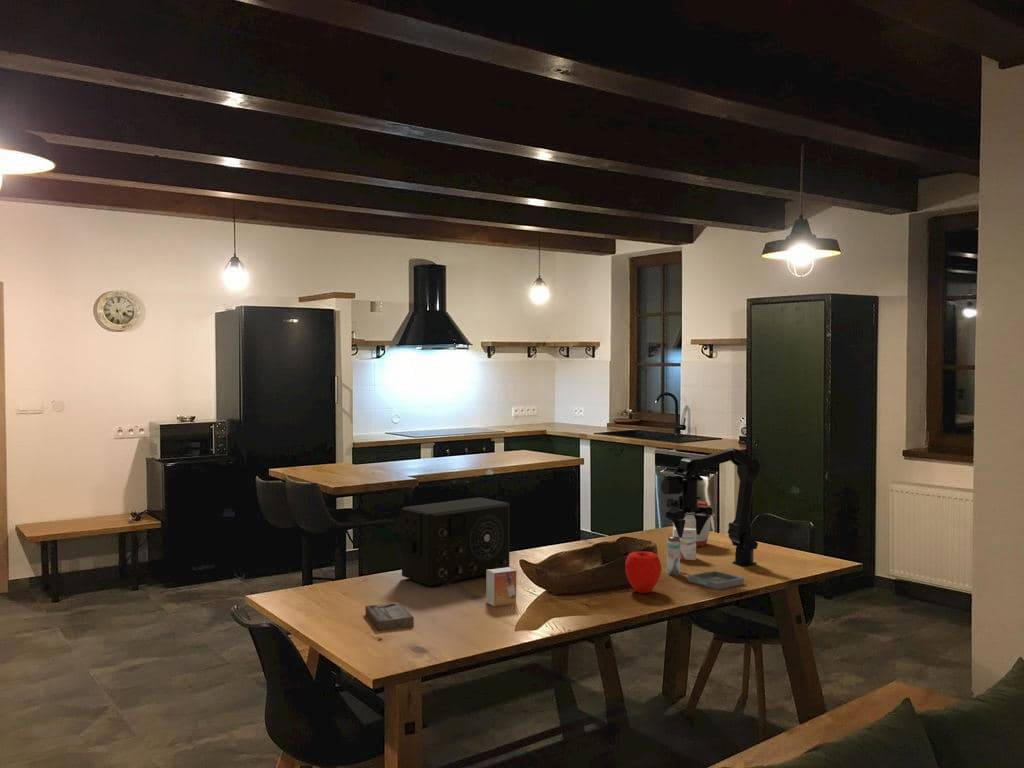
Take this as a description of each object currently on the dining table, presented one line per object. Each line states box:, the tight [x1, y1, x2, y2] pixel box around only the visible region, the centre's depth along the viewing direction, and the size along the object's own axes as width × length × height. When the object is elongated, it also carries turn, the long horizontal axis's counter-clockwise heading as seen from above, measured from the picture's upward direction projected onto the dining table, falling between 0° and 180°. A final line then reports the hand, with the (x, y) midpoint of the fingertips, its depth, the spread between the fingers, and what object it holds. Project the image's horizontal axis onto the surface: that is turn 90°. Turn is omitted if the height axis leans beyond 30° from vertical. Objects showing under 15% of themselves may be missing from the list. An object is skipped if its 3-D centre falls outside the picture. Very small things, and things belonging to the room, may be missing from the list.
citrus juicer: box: [672, 500, 716, 547], centre depth 357 cm, size 16×17×20 cm
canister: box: [666, 535, 681, 577], centre depth 307 cm, size 5×5×13 cm
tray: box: [687, 569, 745, 591], centre depth 295 cm, size 13×13×2 cm
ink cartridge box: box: [672, 519, 697, 561], centre depth 331 cm, size 9×5×15 cm, turn 84°
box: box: [365, 601, 415, 632], centre depth 252 cm, size 11×17×3 cm, turn 22°
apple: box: [624, 550, 662, 594], centre depth 284 cm, size 12×12×13 cm
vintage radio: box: [400, 496, 511, 588], centre depth 303 cm, size 38×20×25 cm, turn 130°
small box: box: [485, 566, 517, 607], centre depth 270 cm, size 8×6×10 cm
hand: (689, 536), depth 314 cm, fingers open, 9 cm apart
